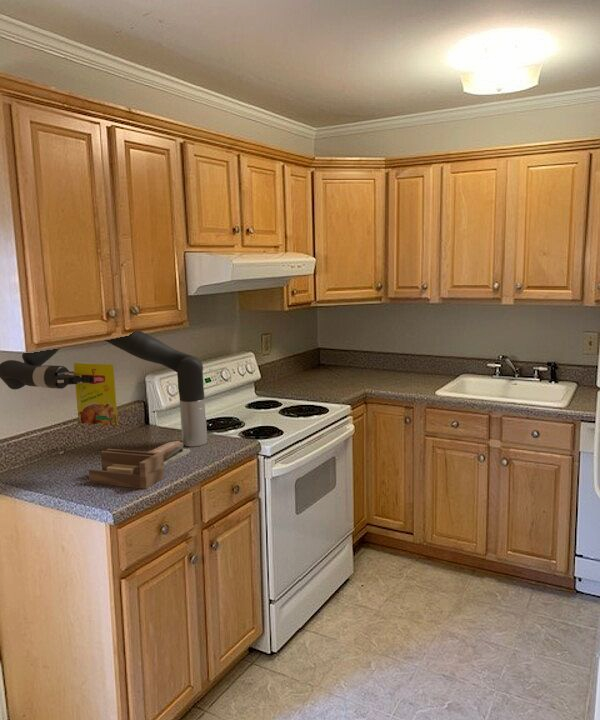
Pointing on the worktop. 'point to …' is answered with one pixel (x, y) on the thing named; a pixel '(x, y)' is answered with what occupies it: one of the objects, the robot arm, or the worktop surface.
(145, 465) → the walnut rack
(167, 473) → the worktop surface
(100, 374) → the food package
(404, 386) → the worktop surface
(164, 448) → the packaged product
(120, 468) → the upper pine offcut
